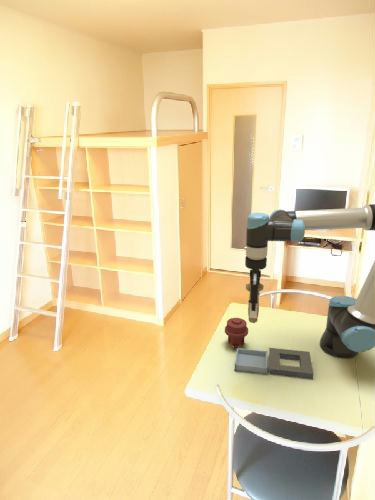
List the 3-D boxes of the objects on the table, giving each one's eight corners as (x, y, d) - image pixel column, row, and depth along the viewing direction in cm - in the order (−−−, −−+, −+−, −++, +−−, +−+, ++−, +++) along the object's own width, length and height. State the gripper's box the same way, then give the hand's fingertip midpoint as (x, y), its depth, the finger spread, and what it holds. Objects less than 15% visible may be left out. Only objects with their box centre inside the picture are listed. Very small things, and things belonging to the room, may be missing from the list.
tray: (266, 357, 145) (267, 351, 144) (266, 374, 135) (267, 368, 134) (236, 354, 148) (237, 347, 147) (234, 371, 137) (234, 364, 136)
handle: (263, 323, 133) (265, 287, 128) (246, 325, 132) (248, 289, 128) (258, 317, 138) (260, 282, 133) (242, 319, 137) (244, 283, 132)
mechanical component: (248, 339, 158) (247, 353, 148) (225, 337, 160) (223, 350, 150) (249, 315, 154) (248, 327, 144) (226, 313, 156) (223, 325, 146)
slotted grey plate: (308, 356, 145) (309, 351, 144) (312, 379, 132) (313, 373, 131) (268, 352, 148) (269, 347, 147) (269, 374, 135) (269, 368, 135)
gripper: (246, 248, 135) (244, 303, 143) (244, 264, 119) (241, 324, 127) (266, 249, 134) (263, 304, 141) (266, 265, 118) (263, 326, 126)
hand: (253, 314), depth 134 cm, fingers closed on handle, 4 cm apart
